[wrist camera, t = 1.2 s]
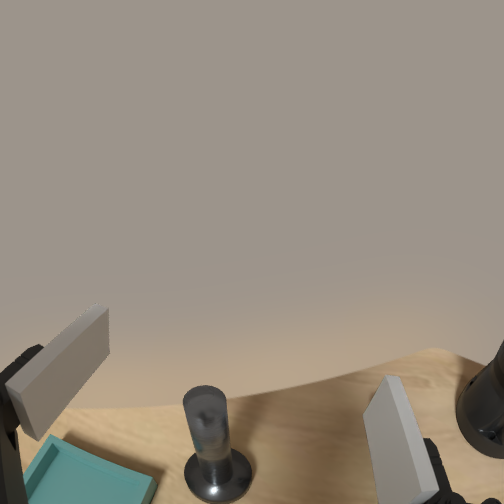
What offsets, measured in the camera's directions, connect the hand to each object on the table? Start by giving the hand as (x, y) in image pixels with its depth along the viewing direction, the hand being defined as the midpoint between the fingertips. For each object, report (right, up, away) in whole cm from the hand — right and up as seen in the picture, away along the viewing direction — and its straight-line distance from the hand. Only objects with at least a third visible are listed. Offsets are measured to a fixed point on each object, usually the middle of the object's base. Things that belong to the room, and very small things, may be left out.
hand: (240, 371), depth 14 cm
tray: (-18, -22, +7) cm, 29 cm away
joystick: (-3, -19, +14) cm, 24 cm away
